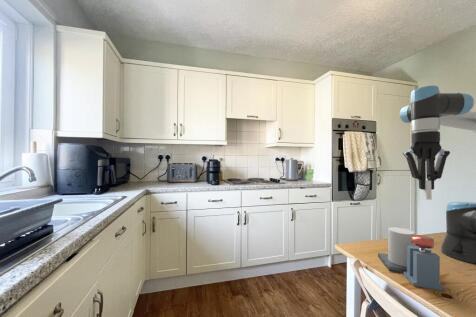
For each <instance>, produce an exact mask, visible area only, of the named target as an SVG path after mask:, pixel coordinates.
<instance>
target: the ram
mask: <svg viewBox="0 0 476 317" xmlns="http://www.w3.org/2000/svg"><path fill="white" fill-rule="evenodd" d="M434 242H435V240H434V239H433V237H429V236H426V235H421V234H415V235H412V244H413V245H415V246H416V247H420V252H425V248H429V249H430V250H432V249H434V248H435V246H434V245H435V243H434Z"/></svg>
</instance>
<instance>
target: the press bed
mask: <svg viewBox="0 0 476 317" xmlns="http://www.w3.org/2000/svg"><path fill="white" fill-rule="evenodd" d="M377 257H378V259H379V260H380V261H381V262H382V264H383V265H384V266H385V267H386V269H387V271H389V272H395V273H402V274H403V272H407V267H406V266H401V265H397V264H395V263H392V262H391V261H389V259H388V253H383V252H377Z"/></svg>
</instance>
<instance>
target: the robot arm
mask: <svg viewBox="0 0 476 317" xmlns="http://www.w3.org/2000/svg"><path fill="white" fill-rule="evenodd" d="M409 103H410V104H408V105H406V106H403V107H402V108H401V109H400V110H399V118H400V120H401V121H402V122H403V123H405V124H410V123H411V124H410V125H411V126H410V128H411V146H410V148H409V150H407V151H404V152H402V155H403V156H404V157H405V158H406V161H407V164H408V168H409V171H410V174H411V177H412V178H414V179H416V180H418V188H419V189H420V190H421V197H422V198H421V199H424V200H430V201H432V190H433V191H434V189H435V182H436V180H440V179H441V178H442V175H443V172H444V168H445V165H446V161H447V158H448V156H449V155H450V154H451V152H450V150H446V149H443V148H442V146H441V144H440V142H441V132H440V131H439V130H440V129H441V126H443V127H447V128H454V129H460V130H466V131H472V132H473V133H475V134H476V111H472V109H473V108H474V105H475V98H474V97H473V96H472V95H470V94H468V93H461V92H457V93H456V92H453V93H451V92H450V93H449V92H447V93H446V92H445V93H443V92H441V91H440V89H439V86H437V85H425V86H421V87H418V88H415V89H413V90H412V91H411V92H410V101H409ZM437 155H438V156H437ZM414 156H416V161H417V164H416V161H415V158H414ZM436 156H437V159H436ZM435 161H436V163H435ZM445 213H446V214H445V215H446V216H445V217H446V218H445V219H446V235H445V237H444V239H443V241H442V243H441V245H440V251H441V253H442V254H444V255H446V256H447V257H450V258H453V259H456V260H459V261H462V262H467V263H471V264H476V202H473V201H472V202H471V201H450V202H448V203H447V204H446V211H445Z"/></svg>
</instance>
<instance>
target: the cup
mask: <svg viewBox="0 0 476 317" xmlns="http://www.w3.org/2000/svg"><path fill="white" fill-rule="evenodd" d="M387 229H388V231H387V232H388V233H387V240H388V243H387V248H388V253H387V254H388V259H389V261H391V262H392V263H395V264H397V265H401V266H406V267H407V246H415V245H413V244H412V235H416V233H415V231H413V230H411V229H408V228H404V227H397V226H395V227H392V226H390V227H388V228H387Z"/></svg>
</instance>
